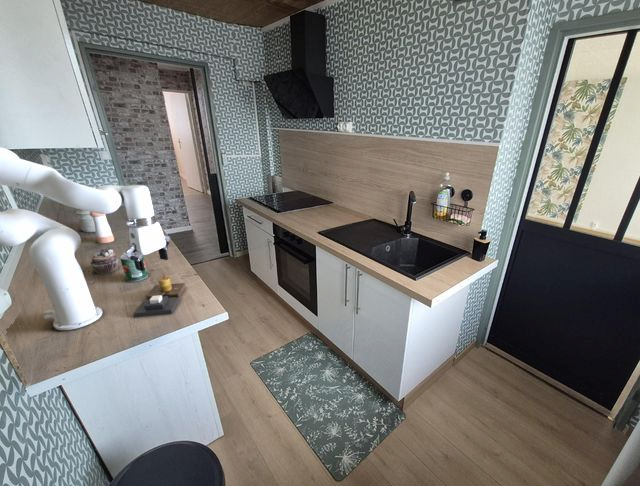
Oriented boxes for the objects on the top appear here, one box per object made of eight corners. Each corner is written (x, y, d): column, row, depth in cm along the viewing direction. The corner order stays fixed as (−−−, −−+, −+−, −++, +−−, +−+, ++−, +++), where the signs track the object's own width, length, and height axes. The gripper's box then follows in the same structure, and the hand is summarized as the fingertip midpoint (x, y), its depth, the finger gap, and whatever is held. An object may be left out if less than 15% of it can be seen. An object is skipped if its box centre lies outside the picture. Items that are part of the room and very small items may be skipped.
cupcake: (98, 266, 138) (92, 247, 135) (123, 264, 142) (118, 245, 138) (89, 275, 130) (82, 255, 126) (116, 273, 134) (110, 253, 130)
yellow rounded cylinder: (171, 290, 118) (169, 279, 116) (160, 292, 117) (157, 281, 115) (172, 286, 122) (169, 274, 120) (160, 288, 120) (158, 276, 118)
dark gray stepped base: (134, 317, 106) (132, 309, 104) (145, 303, 114) (143, 295, 112) (172, 313, 109) (170, 305, 107) (179, 300, 117) (178, 293, 115)
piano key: (150, 304, 108) (149, 300, 108) (153, 299, 111) (152, 295, 110) (159, 303, 109) (158, 299, 108) (162, 299, 112) (161, 295, 111)
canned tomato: (122, 279, 129) (115, 256, 125) (140, 272, 136) (134, 250, 132) (133, 283, 126) (127, 260, 122) (152, 275, 133) (146, 253, 129)
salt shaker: (113, 242, 165) (104, 209, 158) (97, 244, 162) (86, 210, 154) (115, 237, 171) (106, 206, 164) (98, 239, 167) (88, 207, 160)
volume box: (147, 301, 115) (146, 296, 114) (156, 290, 123) (155, 284, 122) (179, 299, 117) (177, 293, 116) (185, 287, 125) (184, 282, 124)
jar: (97, 224, 189) (89, 198, 182) (115, 226, 187) (107, 199, 181) (75, 231, 177) (66, 203, 170) (94, 233, 175) (85, 205, 169)
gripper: (127, 229, 94) (139, 276, 100) (172, 215, 109) (180, 257, 116) (108, 226, 95) (122, 273, 102) (155, 213, 111) (164, 254, 117)
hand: (153, 264), depth 109 cm, fingers open, 9 cm apart
